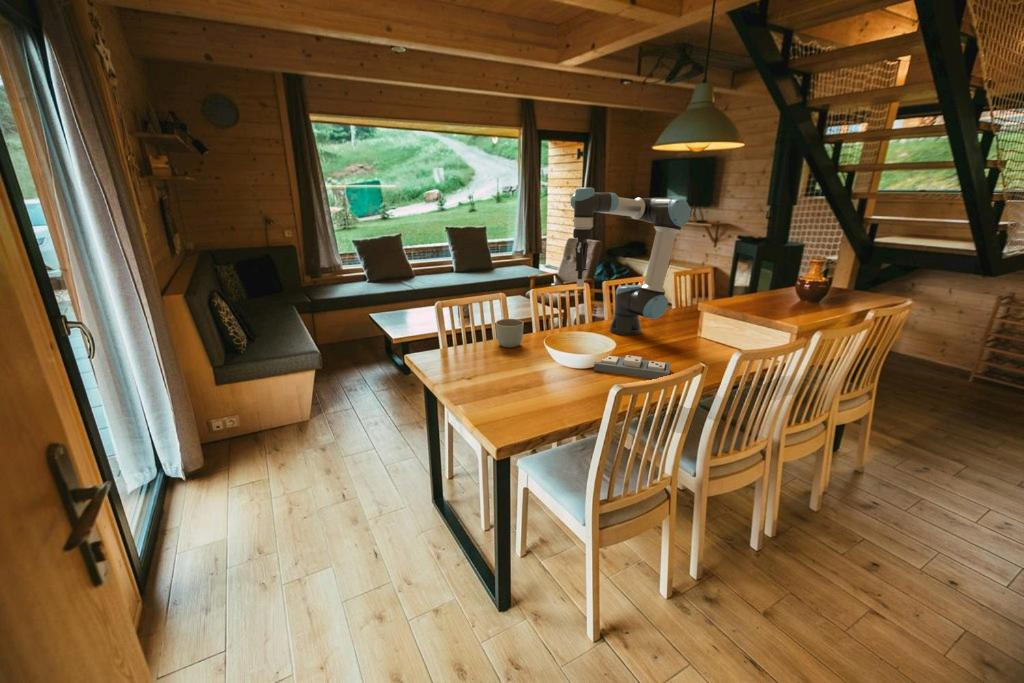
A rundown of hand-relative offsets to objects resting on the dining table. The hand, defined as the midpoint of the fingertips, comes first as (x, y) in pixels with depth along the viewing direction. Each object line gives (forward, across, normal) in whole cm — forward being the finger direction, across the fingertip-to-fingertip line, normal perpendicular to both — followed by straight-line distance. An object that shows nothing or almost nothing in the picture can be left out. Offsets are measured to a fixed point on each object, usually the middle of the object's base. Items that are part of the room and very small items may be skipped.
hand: (580, 286), depth 195 cm
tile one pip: (+28, +12, +16) cm, 34 cm away
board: (+29, +12, +25) cm, 40 cm away
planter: (+30, +1, -31) cm, 43 cm away
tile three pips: (+28, +12, +34) cm, 46 cm away
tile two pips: (+27, +12, +25) cm, 39 cm away
